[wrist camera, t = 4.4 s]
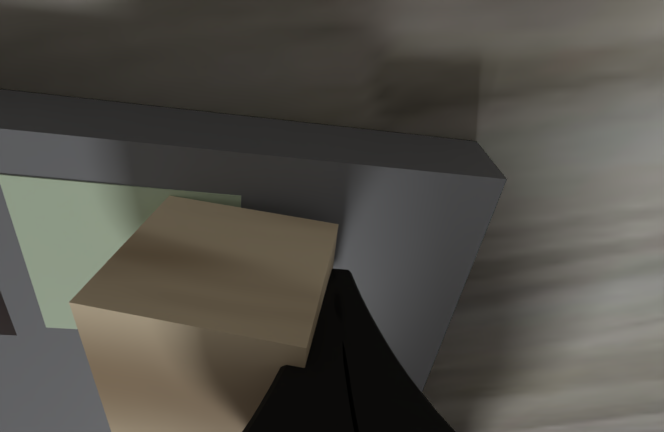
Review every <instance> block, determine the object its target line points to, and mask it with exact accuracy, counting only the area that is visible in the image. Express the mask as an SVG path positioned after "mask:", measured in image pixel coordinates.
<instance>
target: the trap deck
mask: <svg viewBox="0 0 664 432" xmlns="http://www.w3.org/2000/svg"><path fill="white" fill-rule="evenodd" d="M506 180H507V179H506V178H505V176H504V175H503V174H502V173H501V171H500V170H499V169H498V168H497V166H496V165H495V164H494V163H493V161H492V160H491V159H490V158H489V156H488V155H487V154H486V153H485V151H484V150H483V149H482V148H481V146H480V145H479V144H478V143H477V141H468V140H459V139H450V138H441V137H432V136H422V135H413V134H404V133H395V132H386V131H377V130H368V129H359V128H349V127H340V126H331V125H322V124H313V123H304V122H295V121H286V120H277V119H267V118H258V117H249V116H240V115H231V114H222V113H213V112H204V111H194V110H185V109H176V108H167V107H158V106H149V105H140V104H131V103H122V102H112V101H103V100H94V99H85V98H76V97H67V96H58V95H49V94H40V93H30V92H21V91H12V90H3V89H0V432H111V429H110V426H109V423H108V420H107V417H106V414H105V411H104V408H103V405H102V402H101V399H100V396H99V393H98V390H97V387H96V384H95V381H94V378H93V374H92V371H91V368H90V365H89V362H88V359H87V356H86V353H85V350H84V347H83V344H82V341H81V338H80V335H79V332H78V329H77V326H76V323H75V320H74V317H73V313H72V310H71V307H70V304H69V302H70V301H71V300H72V298H73V297H74V296H75V295H76V294H77V293H78V292H79V291H80V290H81V289H82V288H83V287H84V286H85V285H86V284H87V282H88V281H89V280H90V279H91V278H92V277H93V276H94V275H95V274H96V273H97V272H98V271H99V270H100V269H101V268H102V267H103V265H104V264H105V263H106V262H107V261H108V260H109V259H110V258H111V257H112V256H113V255H114V254H115V253H116V252H117V251H118V249H119V248H120V247H121V246H122V245H123V244H124V243H125V242H126V241H127V240H128V239H129V238H130V237H131V236H132V235H133V234H134V232H135V231H136V230H137V229H138V228H139V227H140V226H141V225H142V224H143V223H144V222H145V221H146V220H147V219H148V218H149V216H150V215H151V214H152V213H153V212H154V211H155V210H156V209H157V208H158V207H159V206H160V205H161V204H162V203H163V202H164V201H165V199H166V198H167V197H168V196H169V195H170V196H176V197H181V198H187V199H193V200H199V201H205V202H211V203H217V204H223V205H228V206H234V207H240V208H246V209H252V210H258V211H264V212H270V213H275V214H281V215H287V216H293V217H299V218H305V219H311V220H317V221H323V222H328V223H334V224H339V225H338V232H337V240H336V248H335V256H334V263H333V268H334V269H346V270H349V271H350V272H351V273H352V275H353V278H354V280H355V283H356V285H357V287H358V290H359V292H360V294H361V296H362V298H363V300H364V302H365V304H366V306H367V308H368V310H369V312H370V314H371V316H372V317H373V319H374V321H375V323H376V325H377V326H378V328H379V330H380V332H381V333H382V335H383V337H384V339H385V340H386V342H387V343H388V345H389V347H390V348H391V350H392V351H393V353H394V354H395V356H396V358H397V359H398V361H399V362H400V364H401V365H402V366H403V368H404V369H405V371H406V372H407V374H408V375H409V376H410V378H411V379H412V380H413V382H414V383H415V384H416V386H417V387H418V388H419V390H420V391H421V392H422V391H423V388H424V386H425V383H426V381H427V378H428V376H429V373H430V371H431V368H432V366H433V363H434V361H435V358H436V356H437V353H438V351H439V348H440V346H441V343H442V341H443V338H444V336H445V333H446V331H447V328H448V326H449V323H450V321H451V318H452V316H453V313H454V311H455V308H456V306H457V303H458V301H459V298H460V296H461V293H462V291H463V288H464V285H465V283H466V280H467V278H468V275H469V273H470V270H471V268H472V265H473V263H474V260H475V258H476V255H477V253H478V250H479V248H480V245H481V243H482V240H483V238H484V235H485V233H486V230H487V228H488V225H489V223H490V220H491V218H492V215H493V213H494V210H495V208H496V205H497V203H498V200H499V198H500V195H501V193H502V190H503V188H504V185H505V183H506Z"/></svg>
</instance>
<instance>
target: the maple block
mask: <svg viewBox="0 0 664 432" xmlns="http://www.w3.org/2000/svg"><path fill="white" fill-rule="evenodd" d="M338 225H339V224H334V223H328V222H323V221H317V220H311V219H305V218H299V217H293V216H287V215H281V214H275V213H270V212H264V211H258V210H252V209H246V208H240V207H234V206H228V205H223V204H217V203H211V202H205V201H199V200H193V199H187V198H181V197H176V196H170V195H169V196H168V197H167V198H166V199H165V201H164V202H163V203H162V204H161V205H160V206H159V207H158V208H157V209H156V210H155V211H154V212H153V213H152V214H151V215H150V216H149V218H148V219H147V220H146V221H145V222H144V223H143V224H142V225H141V226H140V227H139V228H138V229H137V230H136V231H135V232H134V234H133V235H132V236H131V237H130V238H129V239H128V240H127V241H126V242H125V243H124V244H123V245H122V246H121V247H120V248H119V249H118V251H117V252H116V253H115V254H114V255H113V256H112V257H111V258H110V259H109V260H108V261H107V262H106V263H105V264H104V265H103V267H102V268H101V269H100V270H99V271H98V272H97V273H96V274H95V275H94V276H93V277H92V278H91V279H90V280H89V281H88V282H87V284H86V285H85V286H84V287H83V288H82V289H81V290H80V291H79V292H78V293H77V294H76V295H75V296H74V297H73V298H72V300H71V301H70V302H69V304H70V307H71V310H72V313H73V317H74V320H75V323H76V326H77V329H78V332H79V335H80V338H81V341H82V344H83V347H84V350H85V353H86V356H87V359H88V362H89V365H90V368H91V371H92V374H93V378H94V381H95V384H96V387H97V390H98V393H99V396H100V399H101V402H102V405H103V408H104V411H105V414H106V417H107V420H108V423H109V426H110V429H111V432H242V431H243V430H244V428H245V427H246V425H247V424H248V422H249V421H250V419H251V418H252V416H253V415H254V413H255V411H256V410H257V408H258V406H259V405H260V403H261V401H262V400H263V398H264V396H265V394H266V393H267V391H268V389H269V388H270V386H271V384H272V382H273V380H274V378H275V377H276V375H277V373H278V371H279V369H280V367H282V366H284V365H291V366H296V367H301V368H305V365H306V361H307V358H308V354H309V351H310V347H311V343H312V339H313V336H314V332H315V328H316V324H317V321H318V317H319V313H320V310H321V306H322V302H323V298H324V295H325V291H326V287H327V284H328V280H329V277H330V274H331V270H332V268H333V263H334V256H335V248H336V240H337V232H338Z"/></svg>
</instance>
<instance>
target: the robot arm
mask: <svg viewBox="0 0 664 432" xmlns="http://www.w3.org/2000/svg"><path fill="white" fill-rule="evenodd" d="M242 432H455V431H454V430H453V429H452V428H451V427H450V425H449V424H448V423H447V422H446V421H445V420H444V419H443V418H442V417H441V415H440V414H439V413H438V412H437V411H436V410H435V409H434V407H433V406H432V405H431V404H430V402H429V401H428V400H427V399H426V397H425V396H424V395H423V394H422V392H421V391H420V390H419V388H418V387H417V386H416V384H415V383H414V382H413V380H412V379H411V378H410V376H409V375H408V374H407V372H406V371H405V369H404V368H403V366H402V365H401V364H400V362H399V361H398V359H397V358H396V356H395V354H394V353H393V351H392V350H391V348H390V347H389V345H388V343H387V342H386V340H385V339H384V337H383V335H382V333H381V332H380V330H379V328H378V326H377V325H376V323H375V321H374V319H373V317H372V316H371V314H370V312H369V310H368V308H367V306H366V304H365V302H364V300H363V298H362V296H361V294H360V292H359V290H358V287H357V285H356V283H355V280H354V278H353V275H352V273H351V272H350V271H349V270H346V269H334V268H332V270H331V274H330V277H329V280H328V284H327V287H326V291H325V295H324V298H323V302H322V306H321V310H320V313H319V317H318V321H317V324H316V328H315V332H314V336H313V339H312V343H311V347H310V351H309V354H308V358H307V361H306V365H305V368H301V367H296V366H291V365H284V366H282V367H280V369H279V371H278V373H277V375H276V377H275V378H274V380H273V382H272V384H271V386H270V388H269V389H268V391H267V393H266V394H265V396H264V398H263V400H262V401H261V403H260V405H259V406H258V408H257V410H256V411H255V413H254V415H253V416H252V418H251V419H250V421H249V422H248V424H247V425H246V427H245V428H244V430H243V431H242Z"/></svg>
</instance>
